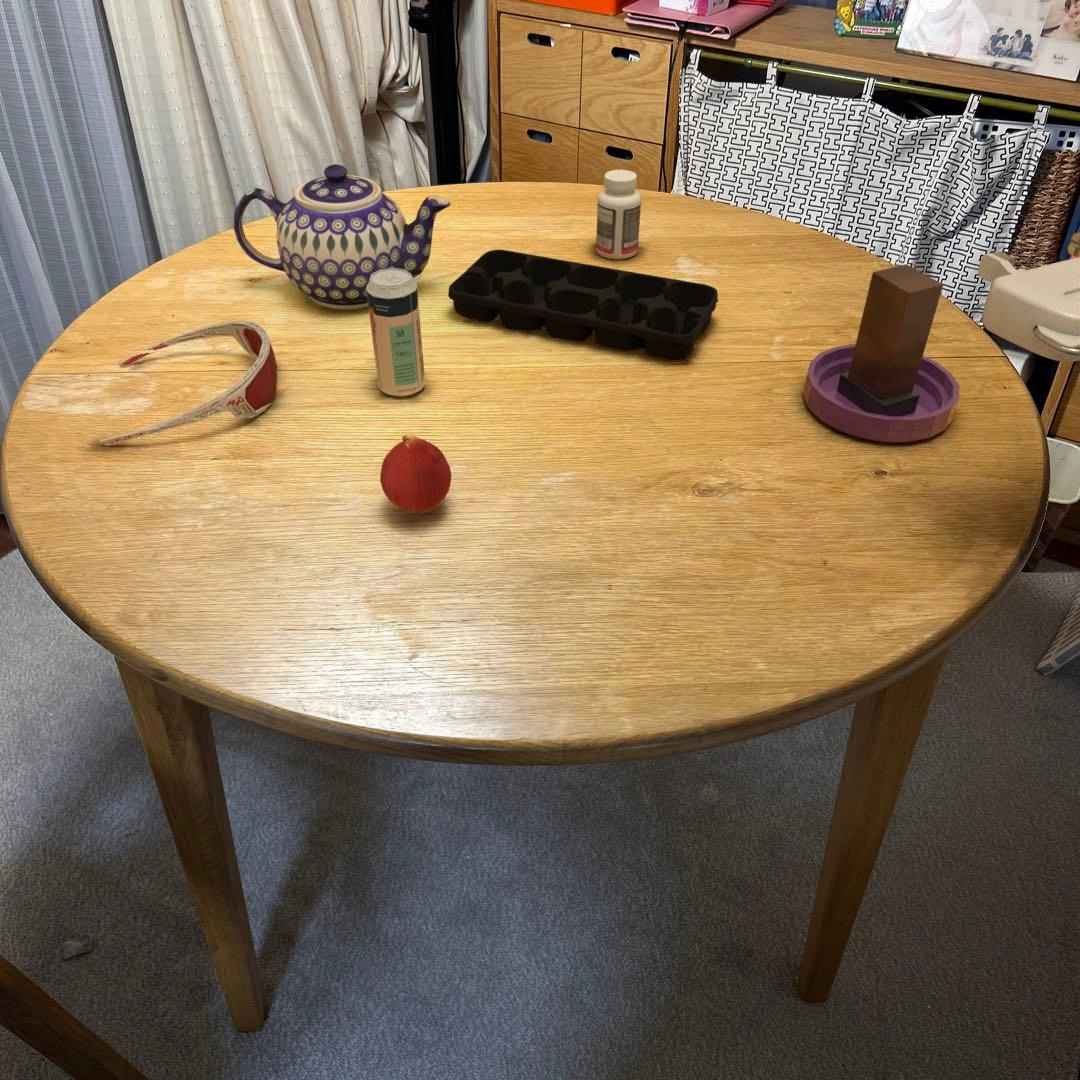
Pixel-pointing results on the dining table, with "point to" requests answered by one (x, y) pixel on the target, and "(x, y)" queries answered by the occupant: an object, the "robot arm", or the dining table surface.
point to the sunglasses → (247, 392)
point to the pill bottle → (618, 216)
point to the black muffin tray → (585, 302)
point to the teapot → (342, 236)
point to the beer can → (396, 331)
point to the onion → (415, 475)
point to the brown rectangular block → (891, 341)
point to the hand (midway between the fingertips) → (1032, 250)
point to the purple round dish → (849, 418)
